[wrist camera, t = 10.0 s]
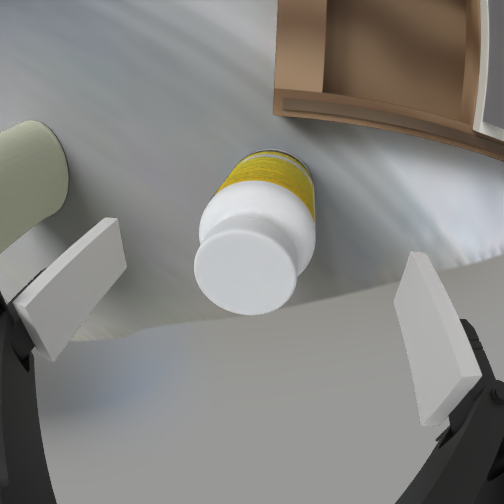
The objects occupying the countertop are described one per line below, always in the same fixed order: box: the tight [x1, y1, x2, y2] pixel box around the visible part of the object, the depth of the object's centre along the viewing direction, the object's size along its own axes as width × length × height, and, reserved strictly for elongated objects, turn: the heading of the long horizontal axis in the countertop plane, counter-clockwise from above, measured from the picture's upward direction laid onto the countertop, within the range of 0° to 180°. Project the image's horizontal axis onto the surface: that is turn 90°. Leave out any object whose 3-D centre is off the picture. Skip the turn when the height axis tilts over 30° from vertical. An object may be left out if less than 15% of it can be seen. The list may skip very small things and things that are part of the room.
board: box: [273, 0, 504, 161], centre depth 11 cm, size 14×22×2 cm, turn 88°
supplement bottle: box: [194, 149, 316, 315], centre depth 16 cm, size 5×5×10 cm
